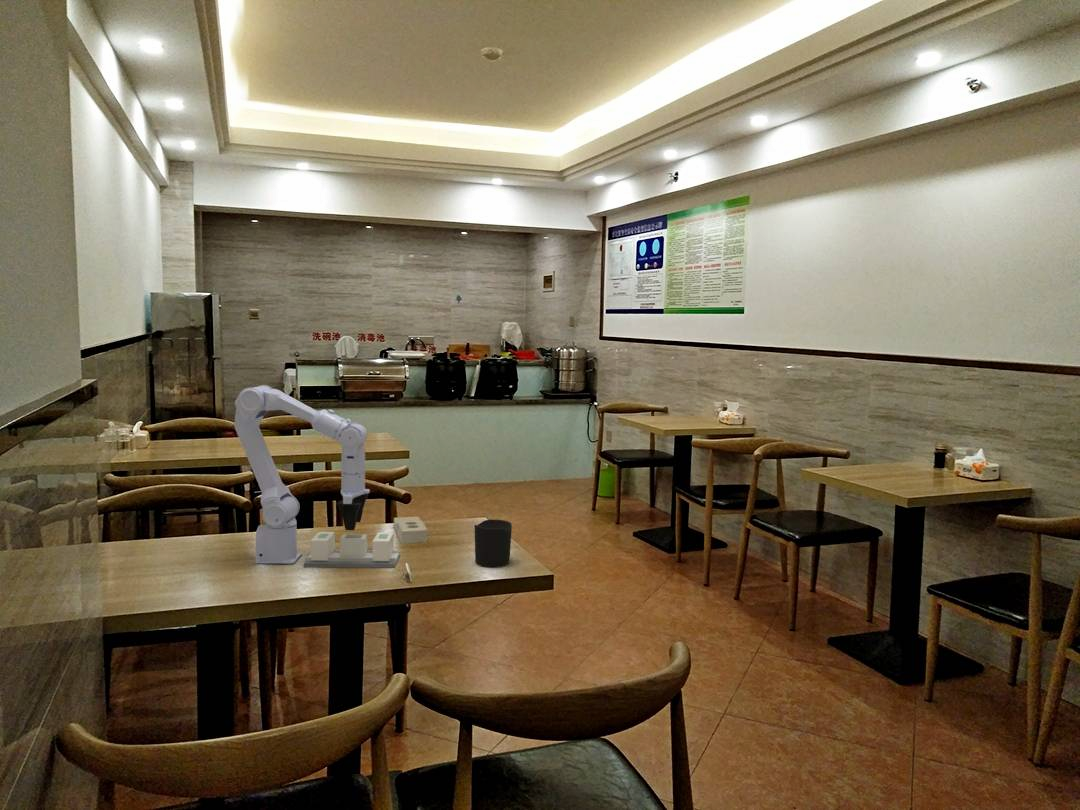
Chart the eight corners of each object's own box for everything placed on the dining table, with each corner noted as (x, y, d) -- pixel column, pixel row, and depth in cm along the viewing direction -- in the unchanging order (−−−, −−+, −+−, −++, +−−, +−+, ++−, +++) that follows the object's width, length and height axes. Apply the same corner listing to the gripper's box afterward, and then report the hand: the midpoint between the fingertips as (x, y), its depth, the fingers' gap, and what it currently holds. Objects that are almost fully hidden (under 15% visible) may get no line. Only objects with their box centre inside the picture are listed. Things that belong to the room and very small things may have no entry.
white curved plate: (395, 585, 172) (395, 572, 172) (393, 574, 180) (393, 562, 180) (411, 584, 173) (411, 572, 173) (408, 573, 181) (408, 561, 181)
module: (339, 558, 186) (339, 538, 185) (343, 553, 190) (343, 533, 189) (364, 558, 186) (364, 538, 185) (367, 553, 190) (367, 534, 189)
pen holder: (516, 566, 187) (517, 527, 186) (480, 570, 184) (481, 530, 183) (503, 555, 196) (504, 518, 195) (469, 559, 192) (469, 521, 191)
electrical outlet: (418, 513, 223) (427, 528, 206) (418, 526, 224) (427, 543, 207) (393, 514, 221) (401, 530, 204) (393, 528, 221) (401, 545, 204)
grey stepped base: (303, 567, 182) (303, 540, 182) (314, 554, 192) (313, 529, 192) (394, 567, 184) (394, 541, 183) (400, 555, 193) (400, 530, 193)
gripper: (364, 478, 179) (363, 533, 180) (374, 467, 193) (374, 518, 194) (334, 477, 178) (334, 533, 180) (346, 466, 193) (346, 518, 194)
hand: (353, 525), depth 187 cm, fingers open, 7 cm apart
